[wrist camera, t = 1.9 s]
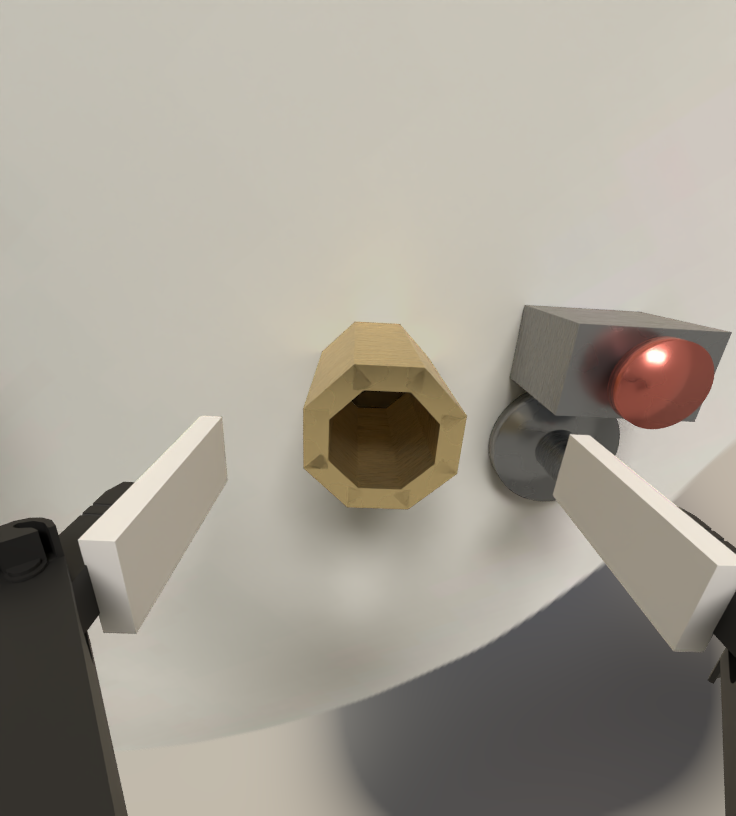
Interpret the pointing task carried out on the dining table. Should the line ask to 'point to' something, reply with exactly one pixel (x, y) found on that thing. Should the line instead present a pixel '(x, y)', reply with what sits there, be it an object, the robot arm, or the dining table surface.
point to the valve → (596, 385)
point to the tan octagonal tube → (380, 421)
